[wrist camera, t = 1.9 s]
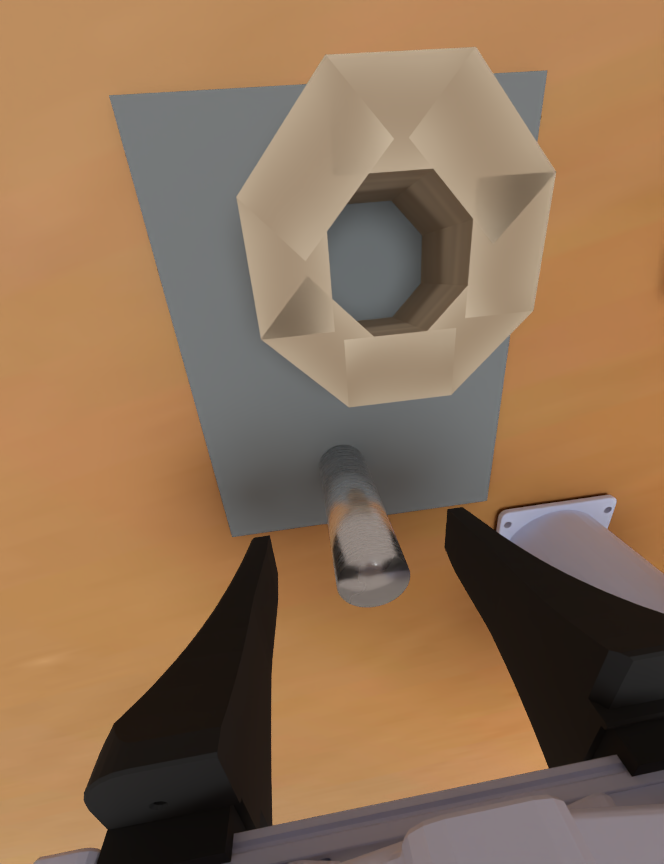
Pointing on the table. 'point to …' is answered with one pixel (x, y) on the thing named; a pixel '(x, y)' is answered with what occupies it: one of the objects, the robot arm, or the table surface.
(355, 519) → the peg
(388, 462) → the mat
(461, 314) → the ring
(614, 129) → the table surface
